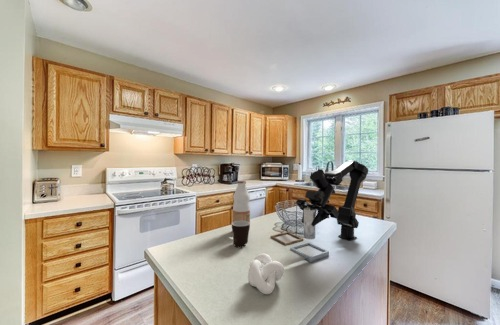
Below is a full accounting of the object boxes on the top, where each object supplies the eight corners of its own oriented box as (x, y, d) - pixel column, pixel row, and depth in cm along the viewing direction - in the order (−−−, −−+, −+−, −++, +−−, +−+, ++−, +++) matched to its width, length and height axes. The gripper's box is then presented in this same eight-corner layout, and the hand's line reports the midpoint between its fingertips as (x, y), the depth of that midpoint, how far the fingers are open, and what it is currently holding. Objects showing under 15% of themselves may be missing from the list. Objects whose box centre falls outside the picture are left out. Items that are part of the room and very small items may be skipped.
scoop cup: (305, 234, 96) (305, 207, 95) (316, 236, 93) (316, 208, 93) (302, 238, 91) (302, 209, 91) (313, 240, 89) (314, 210, 89)
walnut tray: (287, 235, 114) (287, 231, 114) (303, 242, 104) (303, 238, 104) (270, 239, 108) (270, 235, 108) (285, 247, 98) (285, 243, 98)
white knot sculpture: (279, 274, 76) (279, 249, 76) (289, 296, 64) (289, 267, 64) (246, 277, 75) (247, 251, 75) (251, 299, 63) (251, 269, 63)
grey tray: (308, 246, 100) (308, 242, 100) (328, 255, 91) (328, 251, 91) (290, 252, 94) (290, 247, 94) (309, 262, 85) (310, 257, 85)
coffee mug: (247, 249, 97) (247, 226, 97) (229, 247, 99) (229, 225, 99) (252, 239, 108) (252, 219, 108) (235, 238, 110) (235, 218, 110)
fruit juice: (234, 235, 114) (234, 182, 113) (231, 229, 123) (231, 180, 123) (251, 233, 116) (251, 181, 115) (248, 228, 125) (248, 179, 125)
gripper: (298, 181, 101) (281, 208, 95) (335, 185, 87) (318, 218, 80) (308, 196, 106) (293, 222, 100) (345, 202, 92) (330, 234, 85)
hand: (307, 224), depth 91 cm, fingers closed on scoop cup, 5 cm apart
